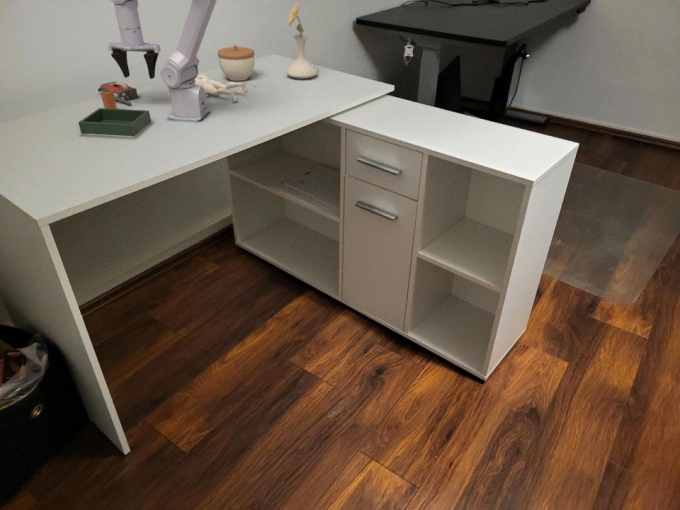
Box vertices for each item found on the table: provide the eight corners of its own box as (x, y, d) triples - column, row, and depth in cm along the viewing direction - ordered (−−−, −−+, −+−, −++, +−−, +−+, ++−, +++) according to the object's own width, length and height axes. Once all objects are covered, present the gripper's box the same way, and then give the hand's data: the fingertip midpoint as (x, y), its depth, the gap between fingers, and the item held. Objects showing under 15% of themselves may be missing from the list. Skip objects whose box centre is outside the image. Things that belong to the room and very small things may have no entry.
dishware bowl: (253, 83, 180) (250, 50, 174) (217, 82, 180) (213, 49, 174) (258, 73, 191) (256, 41, 184) (224, 72, 191) (220, 40, 184)
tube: (120, 113, 154) (115, 89, 150) (115, 117, 151) (109, 93, 147) (109, 112, 154) (103, 88, 150) (104, 116, 151) (98, 92, 147)
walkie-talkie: (92, 95, 167) (128, 109, 157) (89, 81, 165) (125, 94, 154) (117, 89, 173) (153, 102, 163) (114, 75, 170) (150, 88, 160)
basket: (151, 122, 148) (149, 110, 146) (134, 138, 138) (131, 125, 136) (102, 120, 149) (99, 107, 147) (81, 135, 139) (78, 122, 137)
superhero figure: (250, 97, 171) (187, 88, 179) (249, 78, 169) (185, 70, 176) (230, 103, 162) (165, 94, 170) (229, 84, 159) (163, 75, 167)
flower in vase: (289, 71, 194) (287, -3, 180) (319, 73, 193) (319, -1, 179) (281, 81, 184) (278, 3, 169) (313, 83, 182) (312, 5, 168)
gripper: (98, 29, 142) (109, 80, 149) (149, 31, 141) (158, 82, 148) (109, 24, 147) (120, 73, 155) (159, 26, 146) (167, 75, 154)
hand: (139, 77), depth 152 cm, fingers open, 7 cm apart
